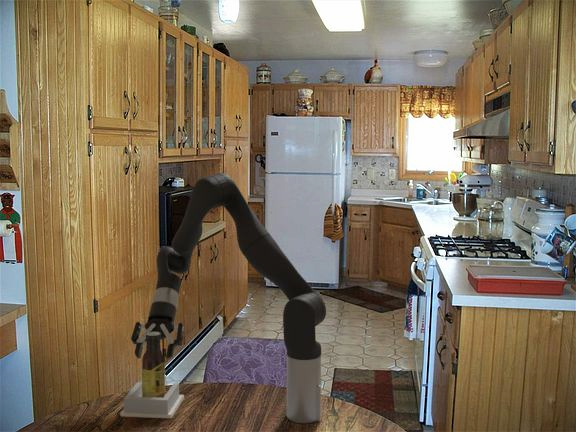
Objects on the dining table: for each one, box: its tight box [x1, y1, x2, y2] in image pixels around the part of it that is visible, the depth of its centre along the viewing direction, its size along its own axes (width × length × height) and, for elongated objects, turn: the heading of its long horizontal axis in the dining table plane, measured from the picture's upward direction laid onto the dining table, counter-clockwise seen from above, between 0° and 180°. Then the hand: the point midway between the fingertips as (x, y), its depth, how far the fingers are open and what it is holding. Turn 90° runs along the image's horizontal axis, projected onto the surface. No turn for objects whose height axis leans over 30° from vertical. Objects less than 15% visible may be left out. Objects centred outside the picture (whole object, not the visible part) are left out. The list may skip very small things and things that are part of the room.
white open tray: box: [120, 381, 185, 419], centre depth 163 cm, size 14×13×5 cm
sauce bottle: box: [141, 332, 166, 398], centre depth 162 cm, size 7×6×20 cm
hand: (153, 357), depth 162 cm, fingers open, 8 cm apart
